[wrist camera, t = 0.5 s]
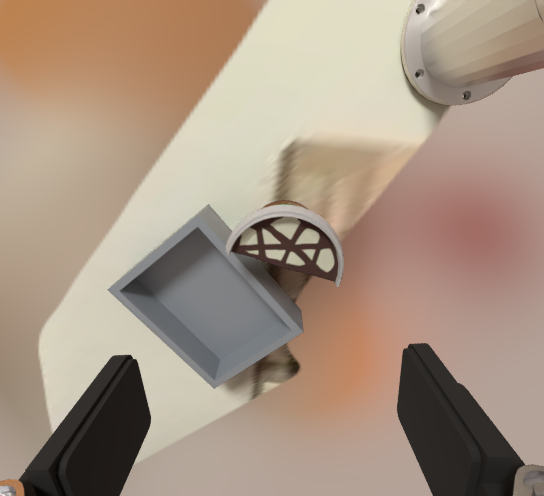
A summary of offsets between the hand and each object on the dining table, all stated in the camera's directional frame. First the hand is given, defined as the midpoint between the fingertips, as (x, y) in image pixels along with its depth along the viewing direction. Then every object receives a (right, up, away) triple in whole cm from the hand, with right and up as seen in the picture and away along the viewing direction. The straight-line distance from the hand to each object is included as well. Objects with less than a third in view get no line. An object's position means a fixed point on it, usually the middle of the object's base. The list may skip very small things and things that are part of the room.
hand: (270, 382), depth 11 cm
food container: (+2, +9, +27) cm, 29 cm away
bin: (-8, -1, +31) cm, 32 cm away
